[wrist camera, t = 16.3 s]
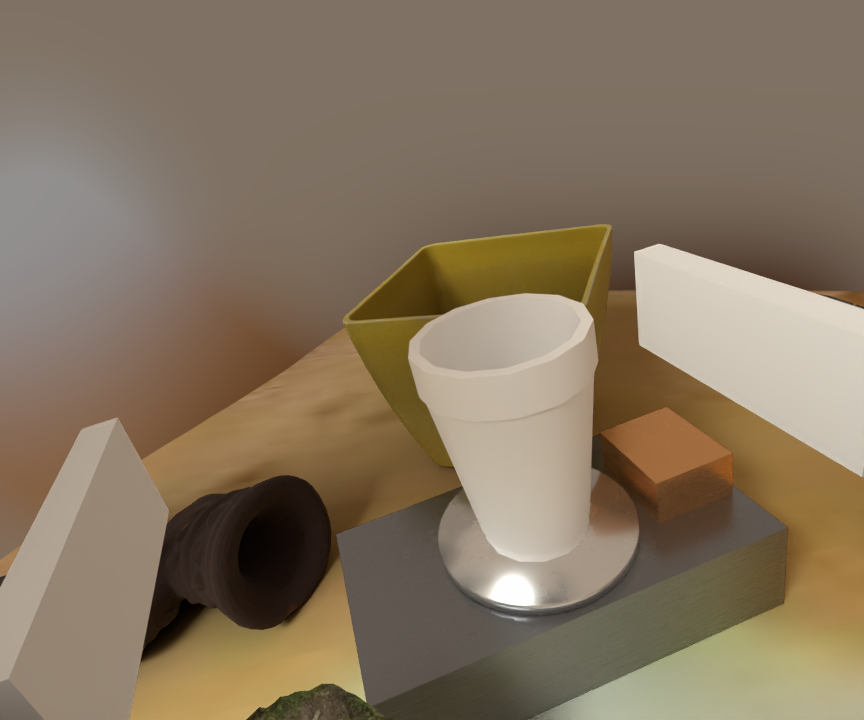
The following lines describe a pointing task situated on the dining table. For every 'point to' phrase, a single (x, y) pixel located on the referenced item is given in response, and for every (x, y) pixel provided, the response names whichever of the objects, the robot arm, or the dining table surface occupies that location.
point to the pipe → (244, 554)
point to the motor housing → (560, 583)
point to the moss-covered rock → (319, 706)
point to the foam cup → (515, 415)
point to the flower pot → (468, 283)
